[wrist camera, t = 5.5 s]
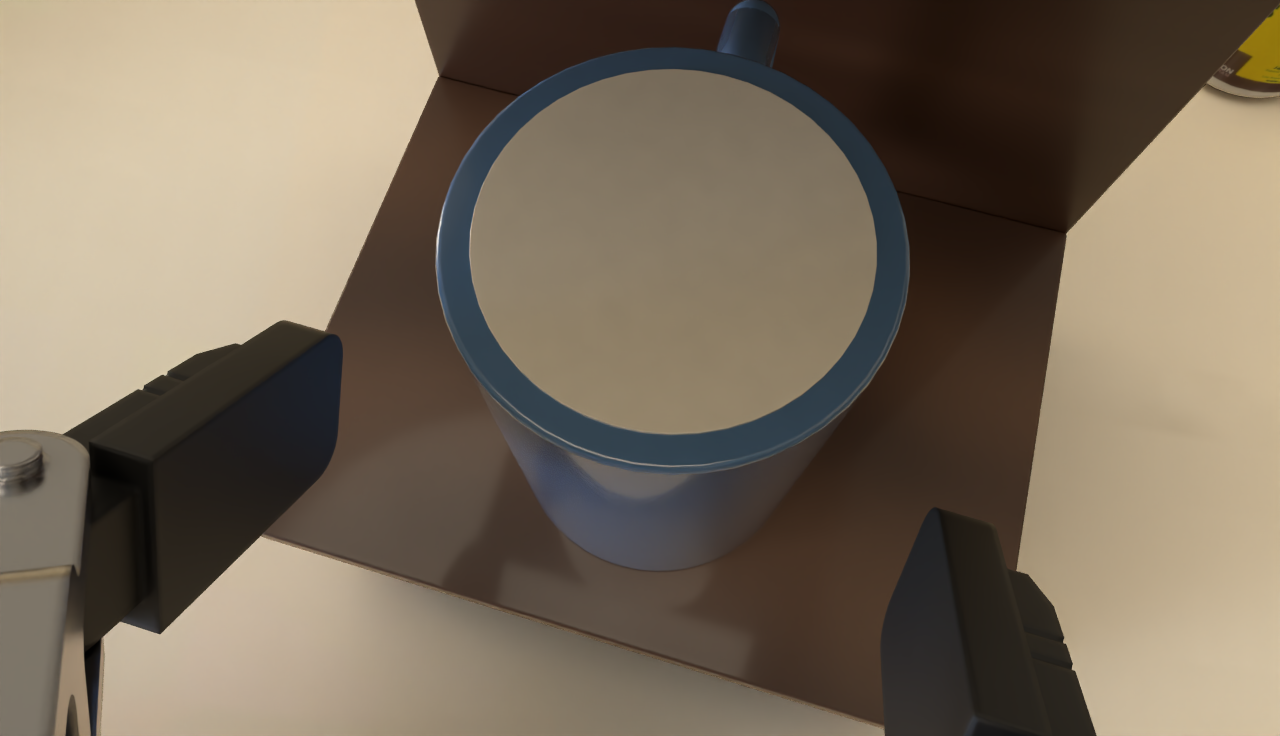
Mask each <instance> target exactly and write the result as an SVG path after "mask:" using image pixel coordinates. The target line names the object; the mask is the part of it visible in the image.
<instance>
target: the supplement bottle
mask: <svg viewBox="0 0 1280 736" xmlns="http://www.w3.org/2000/svg"><path fill="white" fill-rule="evenodd" d="M1207 84H1209V85H1211V86H1213V87H1214V88H1217V89H1219V90H1221V91H1224V92H1227V93H1230V94H1234V95H1238V96H1244V97H1252V98H1267V97H1275V96H1280V5H1279V6H1278V7H1277V8H1276V9H1275V10H1274V11H1273V12H1272V13H1271V14H1270V15H1269V16H1268V17H1267V19H1266V20H1265V21H1264V22H1263V23H1262V24H1261V25H1260V26H1259V27H1258V28H1257V29H1256V30H1255V31H1254V32H1253V34H1252V35H1251V36H1250V37H1249V38H1248V39H1247V40H1246V41H1245V42H1244V43H1243V44H1242V45H1241V46H1240V48H1239V49H1238V50H1237V51H1236V52H1235V53H1234V54H1233V55H1232V56H1231V57H1230V58H1229V59H1228V60H1227V61H1226V63H1225V64H1224V65H1223V66H1222V67H1221V68H1220V69H1219V70H1218V71H1217V72H1216V73H1215V74H1214V75H1213V77H1212V78H1211V79H1210V80H1209V81H1208V82H1207Z"/></svg>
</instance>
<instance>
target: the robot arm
mask: <svg viewBox="0 0 1280 736" xmlns="http://www.w3.org/2000/svg"><path fill="white" fill-rule="evenodd" d="M342 364H343V346H342V342H341V340H340V338H339V337H338V336H337V335H335V334H332V333H328V332H325V331H321V330H318V329H314V328H311V327H307V326H304V325H300V324H297V323H293V322H290V321H285V320H283V321H279V322H277V323H275V324H274V325H272V326H271V327H269V328H268V329H266V330H264V331H263V332H261V333H260V334H258V335H256V336H255V337H253V338H252V339H250V340H248V341H247V342H245V343H244V344H242V345H239V344H236V343H235V344H231V345H228V346H224V347H221V348H217V349H213V350H210V351H206V352H203V353H199V354H196V355H194V356H193V357H191V358H189V359H188V360H186V361H184V362H183V363H181V364H179V365H178V366H176V367H174V368H173V369H171V370H169V371H168V373H167V375H166V376H164V375H161V376H159V377H158V378H156V379H154V380H153V381H151V382H149V383H148V384H146V385H144V389H143V390H139V389H138V390H136V391H134V392H133V393H131V394H129V395H128V396H126V397H124V398H123V399H121V400H119V401H118V402H116V403H114V404H113V405H111V406H109V407H108V408H106V409H104V410H103V411H101V412H99V413H98V414H96V415H94V416H93V417H91V418H89V419H88V420H86V421H84V422H83V423H81V424H79V425H78V426H76V427H74V428H73V429H71V430H69V431H68V432H66V433H64V434H63V435H61V434H58V433H53V432H47V431H38V430H14V431H3V432H0V736H101V721H102V701H103V681H104V662H105V652H104V639H103V636H104V635H105V634H107V633H108V632H109V631H110V630H111V629H112V628H113V627H114V626H115V625H117V624H118V623H119V622H120V621H121V622H124V623H127V624H130V625H133V626H136V627H139V628H142V629H145V630H148V631H151V632H154V633H157V634H161V633H162V632H163V631H164V630H165V629H166V628H167V627H168V626H169V625H170V624H171V623H172V622H173V621H174V620H175V619H176V618H177V617H178V616H179V615H180V614H181V613H182V612H183V611H184V610H185V609H186V608H187V607H188V606H189V605H191V604H192V603H193V602H194V601H195V600H196V599H197V598H198V597H199V596H200V595H201V594H202V593H203V592H204V591H205V590H206V589H207V588H208V587H209V586H210V585H211V584H212V583H213V582H214V581H215V580H216V579H217V578H218V577H219V576H220V575H221V574H222V573H223V572H224V571H225V570H226V569H227V568H228V567H229V566H230V565H231V564H232V563H233V562H234V561H235V560H236V559H238V558H239V557H240V556H241V555H242V554H243V553H244V552H245V551H246V550H247V549H248V548H249V547H250V546H251V545H252V544H253V543H254V542H255V541H256V540H257V539H258V538H259V537H260V536H261V535H262V534H263V533H264V532H265V531H266V530H267V529H268V528H269V527H270V526H271V525H272V524H273V523H274V522H275V521H276V520H277V519H278V518H279V517H280V516H281V515H282V514H283V513H285V512H286V511H287V510H288V509H289V508H290V507H291V506H292V505H293V504H294V503H295V502H296V501H297V500H298V499H299V498H300V497H301V496H302V495H303V494H304V493H305V492H306V491H307V490H308V489H309V488H310V487H311V486H312V485H313V484H314V483H315V482H316V481H317V480H318V479H319V478H320V477H321V476H322V474H323V473H324V472H325V470H326V468H327V466H328V465H329V463H330V460H331V458H332V456H333V453H334V450H335V446H336V442H337V437H338V425H339V409H340V394H341V379H342ZM1063 640H1064V636H1063V633H1062V630H1061V627H1060V624H1059V621H1058V618H1057V615H1056V612H1055V609H1054V606H1053V605H1052V604H1051V602H1050V601H1049V600H1048V599H1047V597H1046V596H1045V595H1044V594H1043V593H1042V591H1041V590H1040V589H1039V588H1038V586H1037V585H1036V584H1035V583H1034V581H1033V580H1032V579H1031V578H1030V577H1029V575H1028V574H1024V573H1021V572H1017V571H1014V570H1011V569H1007V566H1006V562H1005V558H1004V555H1003V551H1002V547H1001V544H1000V540H999V536H998V533H997V529H996V527H995V526H994V524H992V523H989V522H985V521H982V520H978V519H975V518H971V517H968V516H964V515H961V514H957V513H954V512H950V511H947V510H943V509H940V508H936V507H934V508H932V509H931V510H930V511H929V512H928V514H927V515H926V517H925V519H924V521H923V523H922V525H921V528H920V530H919V532H918V535H917V537H916V540H915V542H914V544H913V547H912V549H911V551H910V554H909V556H908V559H907V561H906V563H905V566H904V568H903V570H902V573H901V575H900V578H899V580H898V582H897V585H896V587H895V589H894V592H893V594H892V597H891V599H890V602H889V604H888V607H887V611H886V614H885V618H884V622H883V627H882V633H881V642H880V656H881V674H882V692H883V710H884V728H885V736H1096V733H1095V730H1094V727H1093V724H1092V721H1091V718H1090V715H1089V712H1088V709H1087V706H1086V703H1085V700H1084V696H1083V693H1082V690H1081V687H1080V684H1079V681H1078V678H1077V675H1076V672H1075V671H1073V670H1072V665H1073V663H1072V660H1071V657H1070V654H1069V651H1068V648H1067V645H1066V644H1064V643H1063Z"/></svg>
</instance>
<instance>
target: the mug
mask: <svg viewBox="0 0 1280 736" xmlns="http://www.w3.org/2000/svg"><path fill="white" fill-rule="evenodd" d="M779 33H780V20H779V17H778V14H777V12H776V10H775V9H774V8H773V6H772V5H770V4H769V3H768V2H766V1H764V0H743V1H741V2H739V3H738V4H736V5H735V6H734V7H733V8H732V9H731V11H730V12H729V14H728V16H727V18H726V21H725V24H724V27H723V30H722V33H721V36H720V39H719V43H718V46H717V49H716V51H712V50H707V49H698V48H685V47H654V48H642V49H635V50H628V51H621V52H616V53H612V54H608V55H604V56H600V57H597V58H593V59H590V60H587V61H584V62H582V63H579V64H577V65H574V66H571V67H569V68H566V69H564V70H562V71H560V72H558V73H556V74H554V75H552V76H550V77H548V78H546V79H545V80H543V81H541V82H539V83H538V84H536V85H535V86H533V87H532V88H530V89H529V90H527V91H526V92H524V93H523V94H521V95H520V96H518V97H517V98H516V99H515V100H514V101H513V102H511V103H510V104H509V105H508V106H507V107H506V108H505V109H503V110H502V111H501V112H500V113H499V114H498V115H497V116H496V117H495V118H494V119H493V120H492V121H491V122H490V123H489V125H488V126H487V127H486V128H485V129H484V130H483V131H482V132H481V134H480V135H479V136H478V137H477V139H476V140H475V142H474V143H473V145H472V146H471V148H470V149H469V150H468V152H467V153H466V155H465V156H464V158H463V160H462V162H461V164H460V166H459V168H458V170H457V172H456V174H455V176H454V178H453V180H452V182H451V184H450V187H449V190H448V193H447V195H446V198H445V201H444V204H443V207H442V210H441V215H440V221H439V226H438V231H437V237H436V260H435V267H436V277H437V286H438V294H439V298H440V302H441V306H442V310H443V314H444V317H445V321H446V324H447V326H448V328H449V331H450V333H451V336H452V338H453V340H454V343H455V345H456V347H457V350H458V351H459V353H460V355H461V357H462V359H463V361H464V363H465V365H466V366H467V368H468V370H469V372H470V374H471V376H472V378H473V380H474V382H475V383H476V385H477V387H478V389H479V391H480V393H481V395H482V397H483V399H484V400H485V402H486V404H487V406H488V408H489V410H490V412H491V414H492V416H493V417H494V419H495V421H496V423H497V425H498V427H499V429H500V431H501V433H502V434H503V436H504V438H505V440H506V442H507V444H508V446H509V448H510V449H511V451H512V453H513V455H514V457H515V459H516V461H517V463H518V465H519V466H520V468H521V470H522V472H523V474H524V476H525V478H526V480H527V482H528V483H529V485H530V487H531V489H532V491H533V493H534V495H535V497H536V498H537V500H538V502H539V503H540V505H541V507H542V508H543V510H544V512H545V513H546V514H547V516H548V517H549V518H550V519H551V520H552V522H553V523H554V524H555V525H556V527H557V528H558V529H560V530H561V531H562V532H563V533H564V534H565V535H566V536H567V537H568V538H569V539H570V540H572V541H573V542H574V543H576V544H577V545H579V546H580V547H581V548H583V549H584V550H586V551H588V552H589V553H591V554H593V555H595V556H597V557H599V558H601V559H603V560H606V561H609V562H611V563H614V564H617V565H620V566H624V567H628V568H633V569H637V570H648V571H674V570H680V569H686V568H692V567H696V566H699V565H702V564H705V563H708V562H711V561H713V560H716V559H718V558H720V557H722V556H724V555H726V554H728V553H730V552H731V551H733V550H734V549H736V548H737V547H739V546H740V545H742V544H743V543H745V542H746V541H747V540H748V539H749V538H750V537H752V536H753V535H754V534H755V533H756V532H757V531H758V530H759V529H760V528H761V527H762V526H763V525H764V523H765V522H766V521H767V520H768V519H769V518H770V516H771V515H772V514H773V512H774V511H775V510H776V508H777V507H778V506H779V504H780V503H781V502H782V500H783V499H784V498H785V496H786V495H787V494H788V492H789V491H790V490H791V488H792V487H793V486H794V484H795V483H796V482H797V480H798V479H799V478H800V476H801V475H802V474H803V472H804V471H805V469H806V468H807V467H808V465H809V464H810V463H811V461H812V460H813V459H814V457H815V456H816V455H817V453H818V452H819V451H820V449H821V448H822V447H823V445H824V444H825V443H826V441H827V440H828V439H829V437H830V436H831V435H832V433H833V432H834V431H835V429H836V428H837V427H838V425H839V424H840V423H841V421H842V420H843V419H844V417H845V416H846V415H847V413H848V412H849V411H850V409H851V408H852V407H853V405H854V404H855V403H856V401H857V400H858V399H859V397H860V396H861V395H862V393H863V392H864V391H865V389H866V388H867V387H868V385H869V384H870V382H871V381H872V379H873V378H874V376H875V375H876V373H877V372H878V370H879V369H880V367H881V365H882V364H883V362H884V361H885V359H886V358H887V355H888V353H889V351H890V349H891V347H892V344H893V342H894V340H895V338H896V336H897V334H898V331H899V328H900V324H901V321H902V318H903V314H904V311H905V307H906V303H907V296H908V289H909V281H910V246H909V240H908V233H907V227H906V221H905V217H904V214H903V211H902V207H901V204H900V201H899V198H898V195H897V191H896V189H895V187H894V185H893V183H892V181H891V179H890V176H889V174H888V172H887V170H886V168H885V166H884V165H883V163H882V161H881V160H880V158H879V157H878V155H877V154H876V152H875V150H874V149H873V147H872V146H871V144H870V143H869V142H868V141H867V139H866V138H865V137H864V136H863V135H862V133H861V132H860V131H859V130H858V129H857V127H856V126H855V125H854V124H853V123H852V122H851V121H850V120H849V119H848V118H847V117H846V116H845V115H844V114H843V113H842V112H841V111H839V110H838V109H837V108H836V107H835V106H834V105H833V104H832V103H831V102H829V101H828V100H826V99H825V98H824V97H822V96H821V95H820V94H818V93H817V92H815V91H814V90H813V89H811V88H810V87H808V86H807V85H805V84H803V83H801V82H800V81H798V80H796V79H794V78H792V77H791V76H789V75H787V74H785V73H783V72H781V71H778V70H776V69H774V68H772V66H773V62H774V57H775V52H776V47H777V43H778V38H779Z"/></svg>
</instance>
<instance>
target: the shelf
mask: <svg viewBox="0 0 1280 736" xmlns="http://www.w3.org/2000/svg"><path fill="white" fill-rule="evenodd" d="M741 1H743V0H415V2H416V5H417V9H418V12H419V15H420V18H421V21H422V24H423V27H424V30H425V33H426V36H427V39H428V42H429V46H430V49H431V52H432V55H433V58H434V61H435V64H436V67H437V70H438V73H439V76H440V77H438V79H437V81H436V83H435V85H434V88H433V90H432V92H431V94H430V97H429V99H428V101H427V103H426V106H425V108H424V110H423V112H422V115H421V117H420V119H419V121H418V124H417V126H416V128H415V130H414V133H413V135H412V137H411V139H410V142H409V144H408V146H407V148H406V151H405V153H404V155H403V157H402V160H401V162H400V164H399V166H398V169H397V171H396V173H395V175H394V178H393V180H392V182H391V184H390V187H389V189H388V191H387V193H386V196H385V198H384V200H383V202H382V205H381V207H380V209H379V211H378V214H377V216H376V218H375V220H374V223H373V225H372V227H371V229H370V232H369V234H368V236H367V238H366V240H365V243H364V245H363V247H362V249H361V252H360V254H359V256H358V258H357V261H356V263H355V265H354V267H353V270H352V272H351V274H350V276H349V279H348V281H347V283H346V285H345V288H344V290H343V292H342V294H341V297H340V299H339V301H338V303H337V306H336V308H335V310H334V312H333V315H332V317H331V319H330V321H329V324H328V326H327V328H326V330H325V332H328V333H332V334H335V335H337V336H338V337H339V338H340V340H341V342H342V346H343V364H342V379H341V394H340V409H339V425H338V437H337V442H336V446H335V450H334V453H333V456H332V458H331V460H330V463H329V465H328V466H327V468H326V470H325V472H324V473H323V474H322V476H321V477H320V478H319V479H318V480H317V481H316V482H315V483H314V484H313V485H312V486H311V487H310V488H309V489H308V490H307V491H306V492H305V493H304V494H303V495H302V496H301V497H300V498H299V499H298V500H297V501H296V502H295V503H294V504H293V505H292V506H291V507H290V508H289V509H288V510H287V511H286V512H285V513H283V514H282V515H281V516H280V517H279V518H278V519H277V520H276V521H275V522H274V523H273V524H272V525H271V526H270V527H269V528H268V529H267V530H266V531H265V532H264V533H263V534H262V535H261V536H262V537H264V538H267V539H270V540H273V541H277V542H280V543H283V544H286V545H290V546H293V547H296V548H299V549H303V550H306V551H309V552H312V553H316V554H319V555H322V556H325V557H328V558H332V559H335V560H338V561H341V562H345V563H348V564H351V565H354V566H358V567H361V568H364V569H367V570H371V571H374V572H377V573H380V574H384V575H387V576H390V577H393V578H396V579H400V580H403V581H406V582H409V583H413V584H416V585H419V586H422V587H426V588H429V589H432V590H435V591H439V592H442V593H445V594H448V595H452V596H455V597H458V598H461V599H465V600H468V601H471V602H474V603H477V604H481V605H484V606H487V607H490V608H494V609H497V610H500V611H503V612H507V613H510V614H513V615H516V616H520V617H523V618H526V619H529V620H533V621H536V622H539V623H542V624H546V625H549V626H552V627H555V628H558V629H562V630H565V631H568V632H571V633H575V634H578V635H581V636H584V637H588V638H591V639H594V640H597V641H601V642H604V643H607V644H610V645H614V646H617V647H620V648H623V649H626V650H630V651H633V652H636V653H639V654H643V655H646V656H649V657H652V658H656V659H659V660H662V661H665V662H669V663H672V664H675V665H678V666H682V667H685V668H688V669H691V670H695V671H698V672H701V673H704V674H707V675H711V676H714V677H717V678H720V679H724V680H727V681H730V682H733V683H737V684H740V685H743V686H746V687H750V688H753V689H756V690H759V691H763V692H766V693H769V694H772V695H776V696H779V697H782V698H785V699H788V700H792V701H795V702H798V703H801V704H805V705H808V706H811V707H814V708H818V709H821V710H824V711H827V712H831V713H834V714H837V715H840V716H844V717H847V718H850V719H853V720H856V721H860V722H863V723H866V724H869V725H873V726H876V727H879V728H882V729H885V728H884V710H883V692H882V674H881V656H880V642H881V633H882V627H883V622H884V618H885V614H886V611H887V607H888V604H889V602H890V599H891V597H892V594H893V592H894V589H895V587H896V585H897V582H898V580H899V578H900V575H901V573H902V570H903V568H904V566H905V563H906V561H907V559H908V556H909V554H910V551H911V549H912V547H913V544H914V542H915V540H916V537H917V535H918V532H919V530H920V528H921V525H922V523H923V521H924V519H925V517H926V515H927V514H928V512H929V511H930V510H931V509H932V508H934V507H936V508H940V509H943V510H947V511H950V512H954V513H957V514H961V515H964V516H968V517H971V518H975V519H978V520H982V521H985V522H989V523H992V524H994V526H995V527H996V529H997V533H998V536H999V540H1000V544H1001V547H1002V551H1003V555H1004V558H1005V562H1006V566H1007V569H1011V570H1014V571H1016V569H1017V562H1018V555H1019V549H1020V542H1021V535H1022V529H1023V522H1024V515H1025V509H1026V502H1027V496H1028V489H1029V482H1030V476H1031V469H1032V462H1033V456H1034V449H1035V443H1036V436H1037V429H1038V423H1039V416H1040V409H1041V403H1042V396H1043V389H1044V383H1045V376H1046V370H1047V363H1048V356H1049V350H1050V343H1051V336H1052V330H1053V323H1054V317H1055V310H1056V303H1057V297H1058V290H1059V283H1060V277H1061V270H1062V263H1063V257H1064V250H1065V244H1066V237H1067V235H1066V233H1067V232H1068V231H1069V230H1070V229H1071V228H1072V227H1073V226H1074V225H1075V224H1076V223H1077V221H1078V220H1079V219H1080V218H1081V217H1082V216H1083V215H1084V214H1085V213H1086V212H1087V211H1088V210H1089V209H1090V208H1091V206H1092V205H1093V204H1094V203H1095V202H1096V201H1097V200H1098V199H1099V198H1100V197H1101V196H1102V195H1103V194H1104V192H1105V191H1106V190H1107V189H1108V188H1109V187H1110V186H1111V185H1112V184H1113V183H1114V182H1115V181H1116V180H1117V179H1118V177H1119V176H1120V175H1121V174H1122V173H1123V172H1124V171H1125V170H1126V169H1127V168H1128V167H1129V166H1130V165H1131V163H1132V162H1133V161H1134V160H1135V159H1136V158H1137V157H1138V156H1139V155H1140V154H1141V153H1142V152H1143V151H1144V150H1145V148H1146V147H1147V146H1148V145H1149V144H1150V143H1151V142H1152V141H1153V140H1154V139H1155V138H1156V137H1157V136H1158V134H1159V133H1160V132H1161V131H1162V130H1163V129H1164V128H1165V127H1166V126H1167V125H1168V124H1169V123H1170V122H1171V121H1172V119H1173V118H1174V117H1175V116H1176V115H1177V114H1178V113H1179V112H1180V111H1181V110H1182V109H1183V108H1184V107H1185V106H1186V104H1187V103H1188V102H1189V101H1190V100H1191V99H1192V98H1193V97H1194V96H1195V95H1196V94H1197V93H1198V92H1199V90H1200V89H1201V88H1202V87H1203V86H1204V85H1205V84H1206V83H1207V82H1208V81H1209V80H1210V79H1211V78H1212V77H1213V75H1214V74H1215V73H1216V72H1217V71H1218V70H1219V69H1220V68H1221V67H1222V66H1223V65H1224V64H1225V63H1226V61H1227V60H1228V59H1229V58H1230V57H1231V56H1232V55H1233V54H1234V53H1235V52H1236V51H1237V50H1238V49H1239V48H1240V46H1241V45H1242V44H1243V43H1244V42H1245V41H1246V40H1247V39H1248V38H1249V37H1250V36H1251V35H1252V34H1253V32H1254V31H1255V30H1256V29H1257V28H1258V27H1259V26H1260V25H1261V24H1262V23H1263V22H1264V21H1265V20H1266V19H1267V17H1268V16H1269V15H1270V14H1271V13H1272V12H1273V11H1274V10H1275V9H1276V8H1277V7H1278V6H1279V5H1280V0H764V1H766V2H768V3H769V4H770V5H772V6H773V8H774V9H775V10H776V12H777V14H778V17H779V20H780V33H779V38H778V43H777V47H776V52H775V57H774V62H773V66H772V68H774V69H776V70H778V71H781V72H783V73H785V74H787V75H789V76H791V77H792V78H794V79H796V80H798V81H800V82H801V83H803V84H805V85H807V86H808V87H810V88H811V89H813V90H814V91H815V92H817V93H818V94H820V95H821V96H822V97H824V98H825V99H826V100H828V101H829V102H831V103H832V104H833V105H834V106H835V107H836V108H837V109H838V110H839V111H841V112H842V113H843V114H844V115H845V116H846V117H847V118H848V119H849V120H850V121H851V122H852V123H853V124H854V125H855V126H856V127H857V129H858V130H859V131H860V132H861V133H862V135H863V136H864V137H865V138H866V139H867V141H868V142H869V143H870V144H871V146H872V147H873V149H874V150H875V152H876V154H877V155H878V157H879V158H880V160H881V161H882V163H883V165H884V166H885V168H886V170H887V172H888V174H889V176H890V179H891V181H892V183H893V185H894V187H895V189H896V191H897V195H898V198H899V201H900V204H901V207H902V211H903V214H904V217H905V221H906V227H907V233H908V240H909V246H910V281H909V289H908V296H907V303H906V307H905V311H904V314H903V318H902V321H901V324H900V328H899V331H898V334H897V336H896V338H895V340H894V342H893V344H892V347H891V349H890V351H889V353H888V355H887V358H886V359H885V361H884V362H883V364H882V365H881V367H880V369H879V370H878V372H877V373H876V375H875V376H874V378H873V379H872V381H871V382H870V384H869V385H868V387H867V388H866V389H865V391H864V392H863V393H862V395H861V396H860V397H859V399H858V400H857V401H856V403H855V404H854V405H853V407H852V408H851V409H850V411H849V412H848V413H847V415H846V416H845V417H844V419H843V420H842V421H841V423H840V424H839V425H838V427H837V428H836V429H835V431H834V432H833V433H832V435H831V436H830V437H829V439H828V440H827V441H826V443H825V444H824V445H823V447H822V448H821V449H820V451H819V452H818V453H817V455H816V456H815V457H814V459H813V460H812V461H811V463H810V464H809V465H808V467H807V468H806V469H805V471H804V472H803V474H802V475H801V476H800V478H799V479H798V480H797V482H796V483H795V484H794V486H793V487H792V488H791V490H790V491H789V492H788V494H787V495H786V496H785V498H784V499H783V500H782V502H781V503H780V504H779V506H778V507H777V508H776V510H775V511H774V512H773V514H772V515H771V516H770V518H769V519H768V520H767V521H766V522H765V523H764V525H763V526H762V527H761V528H760V529H759V530H758V531H757V532H756V533H755V534H754V535H753V536H752V537H750V538H749V539H748V540H747V541H746V542H745V543H743V544H742V545H740V546H739V547H737V548H736V549H734V550H733V551H731V552H730V553H728V554H726V555H724V556H722V557H720V558H718V559H716V560H713V561H711V562H708V563H705V564H702V565H699V566H696V567H692V568H686V569H680V570H674V571H648V570H637V569H633V568H628V567H624V566H620V565H617V564H614V563H611V562H609V561H606V560H603V559H601V558H599V557H597V556H595V555H593V554H591V553H589V552H588V551H586V550H584V549H583V548H581V547H580V546H579V545H577V544H576V543H574V542H573V541H572V540H570V539H569V538H568V537H567V536H566V535H565V534H564V533H563V532H562V531H561V530H560V529H558V528H557V527H556V525H555V524H554V523H553V522H552V520H551V519H550V518H549V517H548V516H547V514H546V513H545V512H544V510H543V508H542V507H541V505H540V503H539V502H538V500H537V498H536V497H535V495H534V493H533V491H532V489H531V487H530V485H529V483H528V482H527V480H526V478H525V476H524V474H523V472H522V470H521V468H520V466H519V465H518V463H517V461H516V459H515V457H514V455H513V453H512V451H511V449H510V448H509V446H508V444H507V442H506V440H505V438H504V436H503V434H502V433H501V431H500V429H499V427H498V425H497V423H496V421H495V419H494V417H493V416H492V414H491V412H490V410H489V408H488V406H487V404H486V402H485V400H484V399H483V397H482V395H481V393H480V391H479V389H478V387H477V385H476V383H475V382H474V380H473V378H472V376H471V374H470V372H469V370H468V368H467V366H466V365H465V363H464V361H463V359H462V357H461V355H460V353H459V351H458V350H457V347H456V345H455V343H454V340H453V338H452V336H451V333H450V331H449V328H448V326H447V324H446V321H445V317H444V314H443V310H442V306H441V302H440V298H439V294H438V286H437V277H436V267H435V260H436V237H437V231H438V226H439V221H440V215H441V210H442V207H443V204H444V201H445V198H446V195H447V193H448V190H449V187H450V184H451V182H452V180H453V178H454V176H455V174H456V172H457V170H458V168H459V166H460V164H461V162H462V160H463V158H464V156H465V155H466V153H467V152H468V150H469V149H470V148H471V146H472V145H473V143H474V142H475V140H476V139H477V137H478V136H479V135H480V134H481V132H482V131H483V130H484V129H485V128H486V127H487V126H488V125H489V123H490V122H491V121H492V120H493V119H494V118H495V117H496V116H497V115H498V114H499V113H500V112H501V111H502V110H503V109H505V108H506V107H507V106H508V105H509V104H510V103H511V102H513V101H514V100H515V99H516V98H517V97H518V96H520V95H521V94H523V93H524V92H526V91H527V90H529V89H530V88H532V87H533V86H535V85H536V84H538V83H539V82H541V81H543V80H545V79H546V78H548V77H550V76H552V75H554V74H556V73H558V72H560V71H562V70H564V69H566V68H569V67H571V66H574V65H577V64H579V63H582V62H584V61H587V60H590V59H593V58H597V57H600V56H604V55H608V54H612V53H616V52H621V51H628V50H635V49H642V48H654V47H685V48H698V49H707V50H712V51H716V49H717V46H718V43H719V39H720V36H721V33H722V30H723V27H724V24H725V21H726V18H727V16H728V14H729V12H730V11H731V9H732V8H733V7H734V6H735V5H736V4H738V3H739V2H741Z"/></svg>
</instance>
